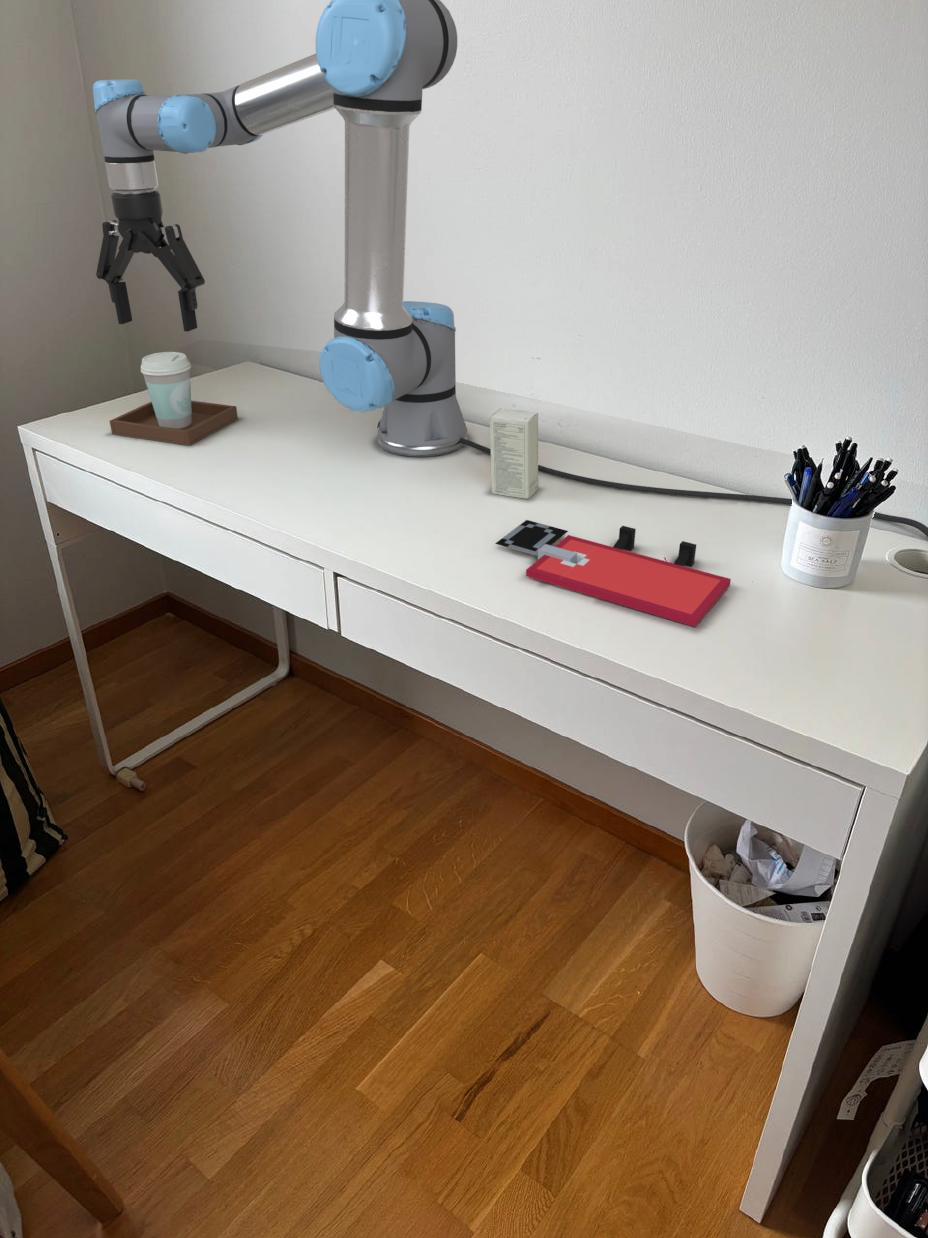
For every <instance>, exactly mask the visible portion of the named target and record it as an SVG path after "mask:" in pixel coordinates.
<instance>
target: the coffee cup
mask: <svg viewBox="0 0 928 1238" xmlns="http://www.w3.org/2000/svg"><path fill="white" fill-rule="evenodd" d="M191 368H192V365H191V362H190V360H189V359H188V356H187V355H186V354H185V353H184V352H180V351H162V352H155V353H152V354H151V353H150V354H147V355H145V356H143V357H142V358H141V365H140V373H141V374H142V375H143V378H144V382H145V385H146V388H147V391H148V395H149V397H150V402H151V401H152V405H153V408H154V411H155V414H156V418H157V421H158V424H159V426H161V427H168V428H175V429H180V428H184V427H187V426H189V425H191V424H192V407H191V401H192V389H191V370H190V369H191Z"/></svg>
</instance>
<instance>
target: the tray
mask: <svg viewBox="0 0 928 1238" xmlns="http://www.w3.org/2000/svg"><path fill="white" fill-rule="evenodd" d="M191 407H192V424H191V425H189V426H187V427H184V428H180V429H175V428H168V427H161V426H159V424H158V421H157V418H156V414H155V411H154V408H153V405H152V401H151V400H150V402H149V401H148V402H147V403H145V404H143V405H140V406H138V407H136V408H134V409H132V410H130V411H127V412H125V413H123V414H120V415H119V416H117V417H114V418H113V419H111V420H109V425H110V430H111V435H115V436H121V437H127V438H134V439H142V440H146V441H147V440H148V441H155V442H162V443H167V444H168V443H169V444H175V445H182V446H188V447H191V446H192V445H194V444H196V443H197V442H199V441H201V440H203V439H205V438H207V437H208V436H209V437H210V435H212V434H214V433H215V432H218V431H219V430H221V429H223V428H225V427H227V426H229V425H230V424H232V423H234V422H237V421H238V420H239V417H238V410H237V409H238V408H237V405H229V404H223V403H222V404H221V403H214V402H205V401H200V400H199V401H198V400H191Z"/></svg>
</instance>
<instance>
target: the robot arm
mask: <svg viewBox="0 0 928 1238" xmlns="http://www.w3.org/2000/svg"><path fill="white" fill-rule="evenodd" d="M457 31H458V30H457V26H456V24H455V20H454V18H453V16H452V14H451V12H450V10H449V9H448V8H447V6H446V5H445V4H444V2H442V0H330V1H329V3H328V4H327V5H326V6H325V8H324V9H323V11H322V14H321V16H320V18H319V20H318V24H317V28H316V33H315V53H313V54H311V55H308V56H306V57H304V58H300V59H299V60H297V61H296V60H295V61H294V62H292V63H289V64H287V65H284V66H282V67H278V68H277V69H274V70H272V71H270V72H266V73H265V74H262V75H260V76H257V77H255V78H252V79H250V80H247V81H245V82H242V83H240V84H239V85H236V86H233V87H230V88H228V89H226V90H222V91H218V92H210V93H209V92H208V93H206V92H205V93H191V94H190V93H188V94H173V95H171V94H169V95H168V94H167V95H162V94H161V95H159V94H158V95H147V94H146V93H145V90H144V89H145V88H144V85H143V83H142V81H140V80H138V79H100V80H97V81H96V80H95V82H94V83H93V85H92V94H93V95H92V96H93V103H94V104H93V105H94V114H95V116H96V121H97V125H98V127H97V128H98V131H99V137H100V143H101V147H102V152H103V153H102V154H103V156H104V157H103V158H104V164H105V169H106V177H107V181H108V186H109V187H108V188H109V189H110V190H112V191H113V192H112V193H111V195H110V198H111V203H112V208H113V209H112V210H113V215H114V217H115V218H117V220H118V221H117V220H116V219H112V220H107V221H104V222H103V221H102V224H101V225H102V240H101V241H102V242H101V247H100V252H99V257H98V263H97V266H96V267H97V268H96V272H95V273H96V274H95V276H96V278H97V279H98V280H103V281H106V284H107V285H108V289H109V294H110V300H111V302H112V303H113V304H114V306H115V312H116V318H117V322H118V325H125V324H127V323H130V322H133V315H132V311H131V305H130V299H129V294H128V288H127V283H126V281H123V280H124V278H123V276H124V275H125V272H126V270H127V268H128V266H129V264H130V262H131V261H132V259H133V256H134V255H135V253H136V254H138V253H143V254H146V255H147V254H148V255H150V254H152V256H153V257H155V258H156V259H158V260H159V261H160V263H161V264H162V265H163V266H164V268H165V269H166V270H167V272H168V273H169V274H170V275H171V277H172V278H173V280H174V281H175V282H176V283H177V285H178V286H179V287H180V289H179V290H177V294H178V301H179V307H180V308H179V309H180V315H181V319H182V320H181V321H182V328H183V332H190V331H193V330H196V329H198V321H197V315H196V310H198V306H199V305H198V300H197V292H196V289H197V288H198V287H201V286H204V285H205V283H206V281H205V278H204V276H203V274H202V273H201V270H200V269H199V267H198V265H197V263H196V261H195V259H194V257H193V255H192V253H191V251H190V249H189V247H188V246H187V244H186V241H185V240H184V237H183V232H182V229H181V226H180V224H179V223H175V224H171V225H166V226H165V225H164V223H163V221H162V218H163V215H164V210H163V205H162V197H161V193H160V192H159V191H158V190H156V189H157V188H158V187H159V181H158V174H157V169H156V161H155V154H154V151H158V152H159V151H160V152H173V153H180V154H183V155H187V154H195V153H196V154H197V153H202V152H205V151H207V150H208V149H212V148H216V147H217V148H218V147H225V146H226V147H227V146H235V145H236V146H243V145H247V144H251V143H254V142H257V141H258V140H260V139H261V138H262V137H263V135H265V134H268V133H271V132H274V131H277V130H280V129H282V128H285V127H287V126H290V125H293V124H296V123H298V122H301V121H304V120H307V119H310V118H313V117H315V116H318V115H321V114H323V113H327V112H330V111H332V110H334V109H335V110H336V111H337V113H338V114H339V115H340V116H341V117H342V119H343V121H344V302H343V304H342V305H341V306H340V307H338V309H337V310H336V311H334V314H333V315H334V316H333V338H331V339H329V340H328V342H327V343H326V344H325V346H323V347H322V349H321V352H320V356H319V362H318V364H319V367H318V368H319V372H320V373H319V374H320V376H321V379H322V383H323V385H324V387H325V388H326V390H327V391H328V392H329V393H330V394H331V395H332V396H333V398H334V400H335V401H337V402H338V403H339V404H340V405H341V406H343V407H344V408H347V409H349V410H351V411H354V412H358V413H368V412H372V411H375V410H376V409H382V408H383V411H382V415H381V418H380V420H379V421H378V422H377V428H376V429H378V430H377V443H378V446H379V447H380V448H381V449H382V450H384V451H386V452H388V453H391V454H393V455H394V454H395V455H399V456H403V457H404V456H405V457H420V458H421V457H435V456H440V455H445V454H451V453H453V452H456V451H458V450H461V449H462V448H463V447H464V446H468V447H470V448H472V449H475V450H477V451H479V452H482V453H485V454H487V455H490V456H491V448H489V447H486V446H484V445H481V444H479V443H477V442H474V441H472V440H469V439H468V427H467V425H466V421H465V419H464V416H463V413H462V410H461V408H460V404H459V401H458V398H457V389H456V388H457V387H456V385H457V383H456V382H457V381H456V332H457V328H456V327H455V316H454V315H455V314H454V311H453V310H452V308H451V307H450V306H448V305H446V304H442V303H438V302H429V301H415V300H414V301H413V300H404V292H405V291H404V290H405V286H404V285H405V264H406V236H407V234H406V233H407V211H408V210H407V206H408V182H409V181H408V178H409V149H410V128H411V125H412V123H413V122H414V121H415V120H416V119H417V118H418V117H419V116H420V115H421V114H422V111H423V109H422V107H423V90H425V89H429V88H431V87H434V86H436V85H438V83H440V82H441V81H442V80H443V79H445V77H446V76H447V75H448V74H449V72H450V70H451V68H452V67H453V65H454V63H455V60H456V57H457V53H458V51H457V50H458V32H457ZM120 236H121V237H122V240H121V242H120V244H119V240H120ZM166 240H167V241H166ZM117 250H118V252H117ZM538 472H541V473H544V474H547V475H551V476H555V477H558V478H562V479H566V480H570V481H574V482H580V483H584V484H588V485H594V486H600V487H604V488H605V487H606V488H612V489H616V490H617V489H618V490H624V491H630V492H631V491H632V492H639V493H649V494H656V495H657V494H658V495H668V496H679V497H680V496H681V497H691V498H693V497H695V498H704V499H705V498H706V499H718V500H730V501H745V502H755V503H756V502H758V503H769V504H778V505H789V506H792V505H791V504H792V499H793V498H786V497H778V496H777V497H776V496H766V495H755V494H754V495H753V494H741V493H729V492H714V491H701V490H689V489H688V490H687V489H676V488H665V487H654V486H645V485H637V484H628V483H623V482H615V481H608V480H603V479H597V478H592V477H586V476H581V475H578V474H573V473H568V472H565V471H561V470H557V469H554V468H550V467H547V466H544V465H540V464H538ZM874 512H875V514H874V517H873V518H872V519H876V520H880V521H885V522H889V523H896V524H902V525H906V526H910V527H912V528H915V529H917V530H918V531H920V532H922V533H923V534H924V535H925V536H926V537H927V538H928V526H927V525H925V524H924V523H922V522H920V521H918V520H915V519H912V518H908V517H903V516H898V515H891V514H885V513H882V512H877V511H874Z"/></svg>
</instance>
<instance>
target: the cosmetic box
mask: <svg viewBox="0 0 928 1238" xmlns="http://www.w3.org/2000/svg"><path fill="white" fill-rule="evenodd" d="M489 437H490V438H489V439H490V440H489V441H490V443H489V444H490V449H491V455H490V477H491V478H490V479H491V480H490V481H491V484H490V485H491V494H493V495H500V496H505V497H506V496H507V497H512V498H517V499H525V500H526V499H527V500H528V499H530V498H531V497H532V496H533V495H534V494H535V493H536V491H538V489H539V471H538V465H539V412H538V411H531V410H530V411H529V410H521V409H512V408H511V409H510V408H499V409H498V410H496V411H495V412H494V413H492V414H491V415H490V416H489Z"/></svg>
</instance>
